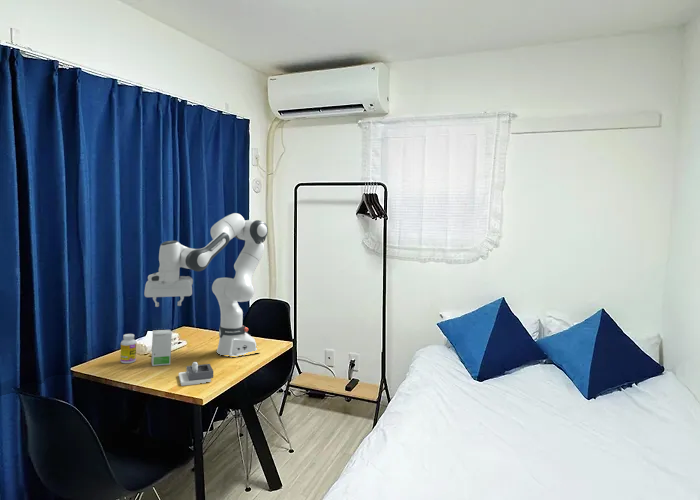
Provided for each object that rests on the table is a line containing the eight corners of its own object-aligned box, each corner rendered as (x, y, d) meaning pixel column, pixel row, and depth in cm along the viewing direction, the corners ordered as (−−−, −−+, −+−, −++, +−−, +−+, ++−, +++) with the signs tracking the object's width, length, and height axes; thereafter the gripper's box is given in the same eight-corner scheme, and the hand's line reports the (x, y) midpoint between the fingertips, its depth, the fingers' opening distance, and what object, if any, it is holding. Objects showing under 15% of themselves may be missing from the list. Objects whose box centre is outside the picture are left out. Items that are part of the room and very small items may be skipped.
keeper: (206, 372, 200) (207, 356, 199) (210, 382, 189) (211, 365, 189) (178, 375, 195) (178, 359, 194) (181, 385, 184) (181, 368, 183)
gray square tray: (209, 370, 200) (209, 363, 199) (213, 377, 191) (213, 371, 190) (186, 372, 195) (186, 366, 195) (189, 380, 186) (189, 373, 186)
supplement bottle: (129, 364, 205) (130, 337, 204) (117, 362, 206) (117, 336, 205) (139, 360, 211) (139, 334, 210) (127, 358, 213) (127, 332, 212)
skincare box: (151, 366, 204) (152, 333, 203) (151, 362, 210) (151, 330, 209) (171, 364, 208) (172, 332, 207) (169, 360, 214) (170, 328, 212)
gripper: (192, 275, 208) (191, 303, 209) (144, 275, 198) (143, 305, 199) (193, 277, 202) (193, 306, 203) (144, 277, 193) (144, 308, 194)
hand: (168, 306), depth 201 cm, fingers open, 8 cm apart
